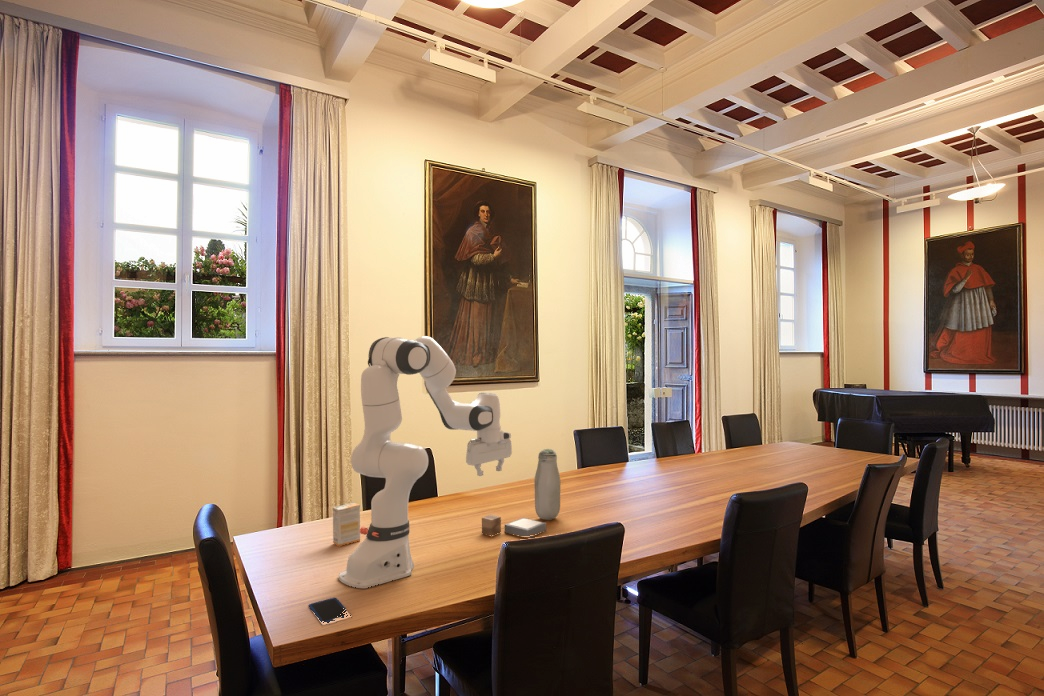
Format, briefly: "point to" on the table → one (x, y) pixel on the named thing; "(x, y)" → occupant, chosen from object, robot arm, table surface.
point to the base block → (525, 527)
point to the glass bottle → (547, 485)
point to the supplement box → (346, 524)
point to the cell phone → (328, 609)
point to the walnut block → (491, 525)
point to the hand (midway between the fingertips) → (489, 473)
